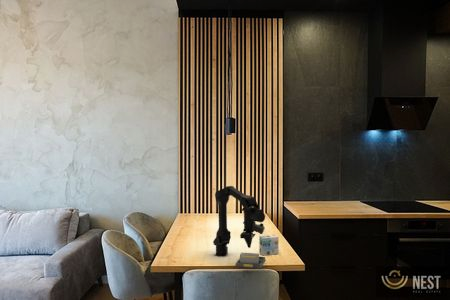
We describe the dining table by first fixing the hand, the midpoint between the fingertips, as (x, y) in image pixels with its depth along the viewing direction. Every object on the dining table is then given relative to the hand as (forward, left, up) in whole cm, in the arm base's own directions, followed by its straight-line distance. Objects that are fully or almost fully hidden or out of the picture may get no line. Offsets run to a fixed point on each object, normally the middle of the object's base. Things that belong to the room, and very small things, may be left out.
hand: (249, 247), depth 203 cm
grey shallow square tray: (0, +3, -10) cm, 11 cm away
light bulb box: (+7, +25, -10) cm, 28 cm away
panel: (0, 0, -10) cm, 10 cm away
